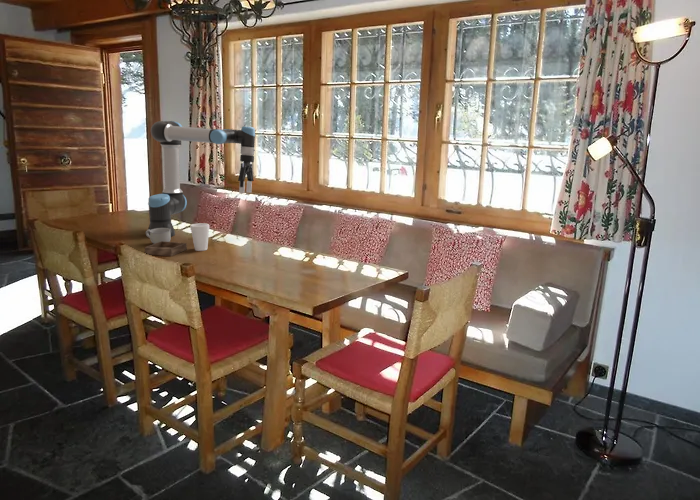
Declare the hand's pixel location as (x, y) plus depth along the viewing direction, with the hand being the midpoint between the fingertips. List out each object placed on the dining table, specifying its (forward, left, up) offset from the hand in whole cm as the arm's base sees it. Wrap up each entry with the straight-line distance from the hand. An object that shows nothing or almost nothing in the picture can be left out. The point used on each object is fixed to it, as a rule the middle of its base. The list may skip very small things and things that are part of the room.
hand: (245, 192), depth 304 cm
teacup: (-38, -29, -26) cm, 55 cm away
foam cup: (-10, -34, -26) cm, 44 cm away
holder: (-24, -44, -26) cm, 57 cm away
